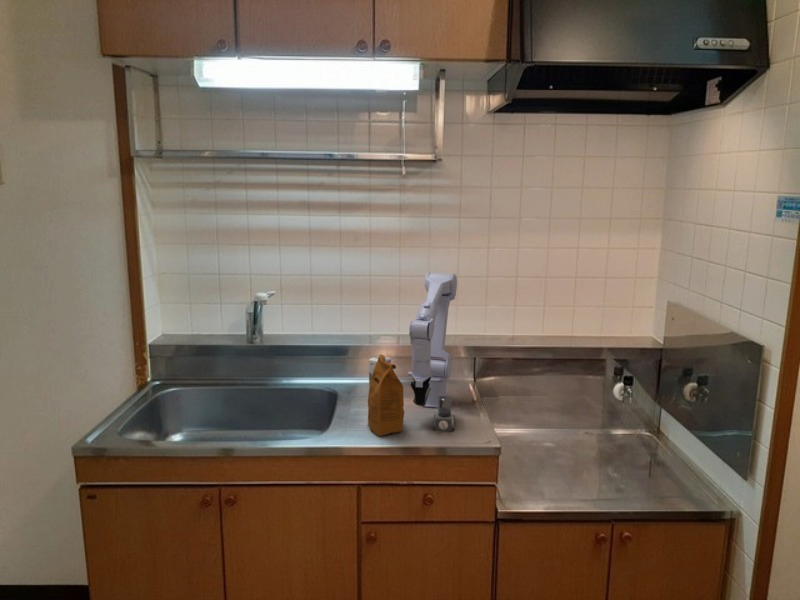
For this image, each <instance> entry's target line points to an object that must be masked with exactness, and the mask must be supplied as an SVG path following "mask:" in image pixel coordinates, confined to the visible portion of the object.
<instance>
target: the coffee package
mask: <svg viewBox="0 0 800 600" xmlns="http://www.w3.org/2000/svg"><path fill="white" fill-rule="evenodd" d="M378 356H379V358H378V361H377V363H376V366H375V369H374V371H373V373H372V377H371V380H370V387H369V386H368V396H367V397H368V398H367V409H368V412H367V413H368V414H367V423H368V425H369V429H370V430H371V432H373V434H376V436H378V437H382V436H385V435H388V434H391V433H394V434H395V433H399V432H402V431H404V418H405V409H404V405H405V403H404V401H405V400H404V386H403V384H402V382H401V380H400V379H399V378H398V375H396V373H395V371H394V370H396V369H397V366H396V365H395V364H393V363H392V362H391V363H387V362H385V357H386V356H384V355H383V354H379V355H378Z"/></svg>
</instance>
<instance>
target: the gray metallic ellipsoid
mask: <svg viewBox="0 0 800 600" xmlns="http://www.w3.org/2000/svg"><path fill="white" fill-rule="evenodd" d="M437 412H438V416H440V417H444V418H446V417H450V416H451V413H452V397H451V396H447V395H446V396H441V397H439V398H438V407H437Z"/></svg>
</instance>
